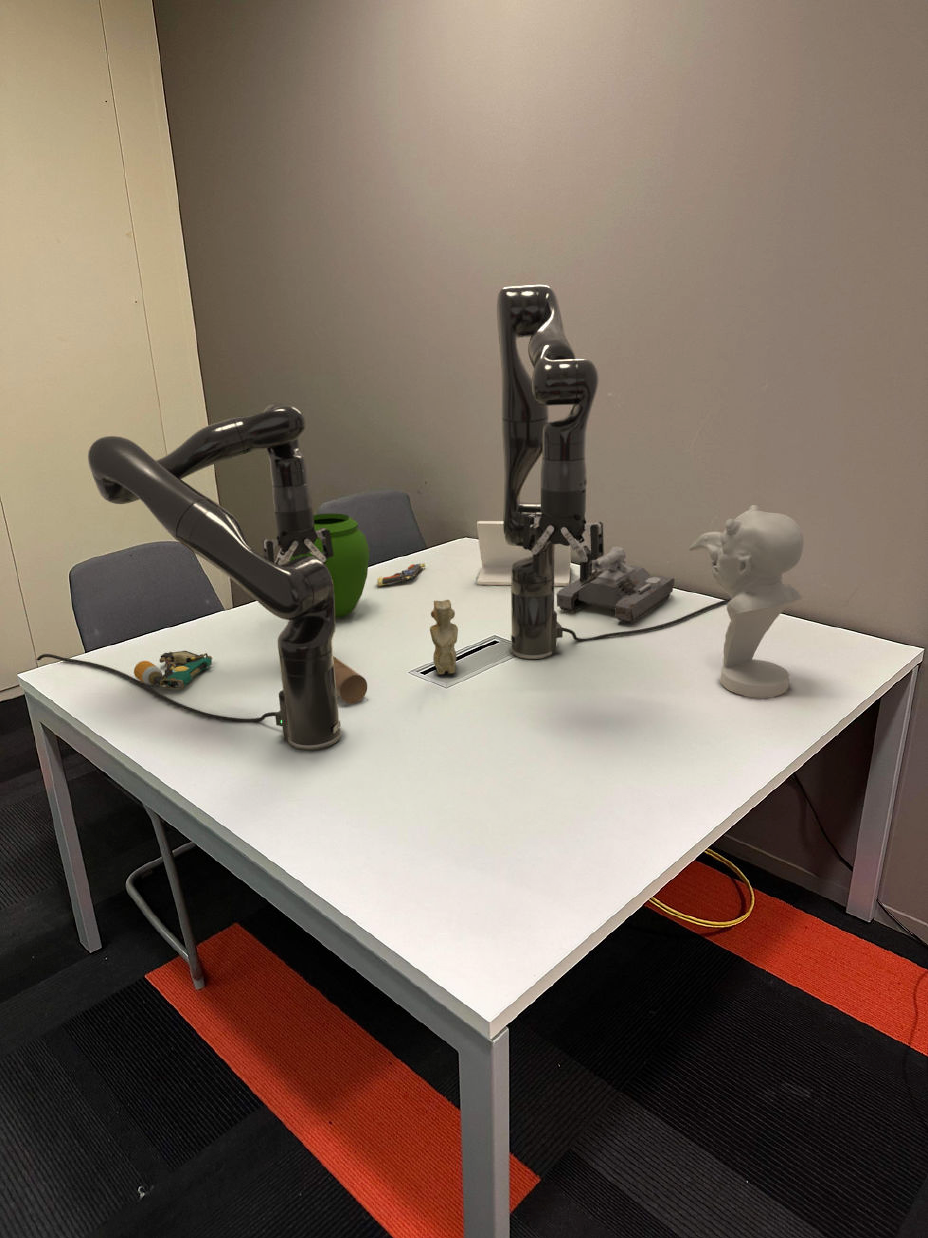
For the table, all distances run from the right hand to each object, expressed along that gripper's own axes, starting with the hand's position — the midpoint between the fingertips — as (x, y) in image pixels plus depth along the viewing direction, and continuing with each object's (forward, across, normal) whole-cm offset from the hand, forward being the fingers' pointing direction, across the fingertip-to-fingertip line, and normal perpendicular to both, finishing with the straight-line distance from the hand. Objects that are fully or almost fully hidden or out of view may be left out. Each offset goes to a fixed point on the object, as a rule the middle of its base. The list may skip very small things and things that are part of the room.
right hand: (562, 577), depth 147 cm
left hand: (+9, -57, -5) cm, 58 cm away
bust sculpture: (+28, +22, +33) cm, 49 cm away
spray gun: (+28, -79, -23) cm, 87 cm away
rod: (+28, -50, -9) cm, 57 cm away
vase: (+28, -75, +22) cm, 83 cm away
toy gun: (+28, -78, +54) cm, 99 cm away
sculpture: (+28, -31, +8) cm, 42 cm away
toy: (+28, -17, +62) cm, 70 cm away
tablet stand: (+28, -49, +73) cm, 92 cm away
